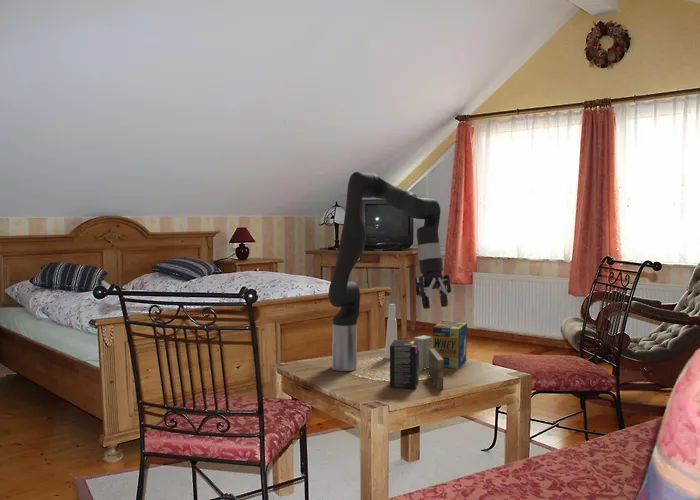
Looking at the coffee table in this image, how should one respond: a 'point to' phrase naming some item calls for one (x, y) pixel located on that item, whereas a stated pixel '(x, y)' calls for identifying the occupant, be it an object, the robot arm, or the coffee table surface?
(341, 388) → the coffee table surface
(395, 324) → the cosmetic bottle
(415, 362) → the tampon box
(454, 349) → the protein box
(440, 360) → the walnut board
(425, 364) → the skincare box
